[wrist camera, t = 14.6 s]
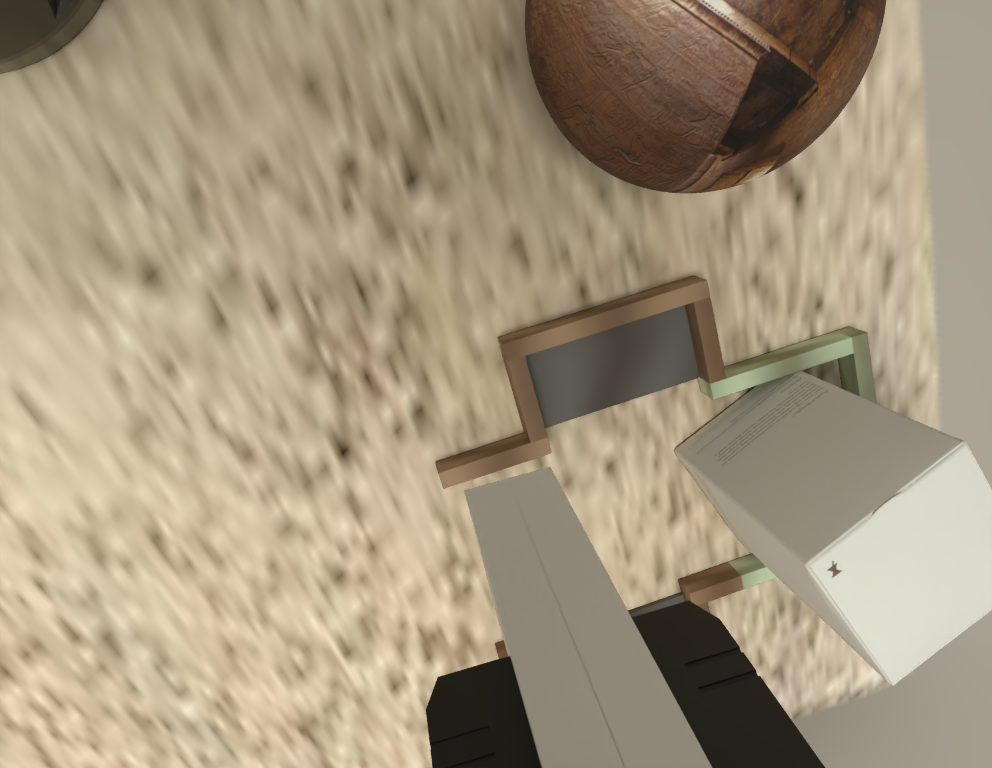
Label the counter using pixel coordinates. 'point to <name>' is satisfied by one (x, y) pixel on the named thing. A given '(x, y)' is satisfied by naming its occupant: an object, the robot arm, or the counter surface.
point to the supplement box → (854, 514)
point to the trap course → (643, 388)
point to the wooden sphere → (697, 81)
